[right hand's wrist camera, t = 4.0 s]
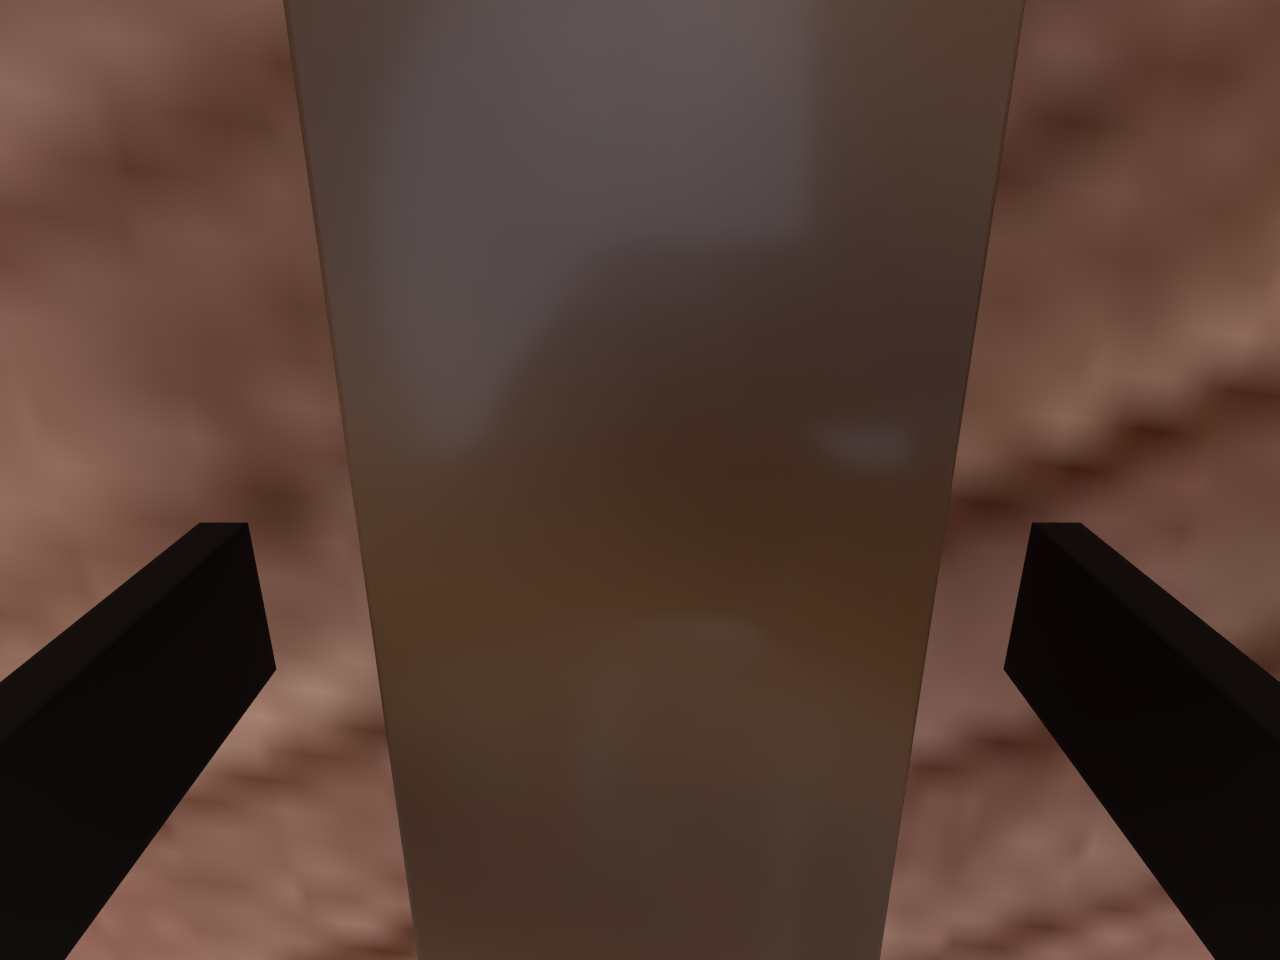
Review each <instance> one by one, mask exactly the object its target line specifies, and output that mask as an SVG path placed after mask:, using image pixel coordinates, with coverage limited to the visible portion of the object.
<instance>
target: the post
mask: <svg viewBox="0 0 1280 960" xmlns="http://www.w3.org/2000/svg"><path fill="white" fill-rule="evenodd" d="M283 2H284V9H285V16H286V23H287V31H288V38H289V45H290V52H291V59H292V66H293V73H294V80H295V87H296V95H297V102H298V109H299V116H300V123H301V130H302V137H303V144H304V151H305V158H306V166H307V173H308V180H309V187H310V194H311V201H312V208H313V215H314V222H315V230H316V237H317V244H318V251H319V258H320V265H321V272H322V279H323V286H324V294H325V301H326V308H327V315H328V322H329V329H330V336H331V343H332V350H333V358H334V365H335V372H336V379H337V386H338V393H339V400H340V407H341V414H342V422H343V429H344V436H345V443H346V450H347V457H348V464H349V471H350V478H351V486H352V493H353V500H354V507H355V514H356V521H357V528H358V535H359V542H360V549H361V557H362V564H363V571H364V578H365V585H366V592H367V599H368V606H369V613H370V621H371V628H372V635H373V642H374V649H375V656H376V663H377V670H378V677H379V685H380V692H381V699H382V706H383V713H384V720H385V727H386V734H387V741H388V749H389V756H390V763H391V770H392V777H393V784H394V791H395V798H396V805H397V813H398V820H399V827H400V834H401V841H402V848H403V855H404V862H405V869H406V877H407V884H408V891H409V898H410V905H411V912H412V919H413V926H414V933H415V940H416V948H417V955H418V960H880V953H881V947H882V940H883V933H884V927H885V920H886V914H887V907H888V901H889V894H890V887H891V881H892V874H893V868H894V861H895V854H896V848H897V841H898V835H899V828H900V822H901V815H902V808H903V802H904V795H905V789H906V782H907V775H908V769H909V762H910V756H911V749H912V743H913V736H914V729H915V723H916V716H917V710H918V703H919V696H920V690H921V683H922V677H923V670H924V664H925V657H926V650H927V644H928V637H929V631H930V624H931V617H932V611H933V604H934V598H935V591H936V585H937V578H938V571H939V565H940V558H941V552H942V545H943V538H944V532H945V525H946V519H947V512H948V506H949V499H950V492H951V486H952V479H953V473H954V466H955V459H956V453H957V446H958V440H959V433H960V427H961V420H962V413H963V407H964V400H965V394H966V387H967V380H968V374H969V367H970V361H971V354H972V347H973V341H974V334H975V328H976V321H977V315H978V308H979V301H980V295H981V288H982V282H983V275H984V268H985V262H986V255H987V249H988V242H989V236H990V229H991V222H992V216H993V209H994V203H995V196H996V189H997V183H998V176H999V170H1000V163H1001V157H1002V150H1003V143H1004V137H1005V130H1006V124H1007V117H1008V110H1009V104H1010V97H1011V91H1012V84H1013V78H1014V71H1015V64H1016V58H1017V51H1018V45H1019V38H1020V31H1021V25H1022V18H1023V12H1024V5H1025V0H283Z"/></svg>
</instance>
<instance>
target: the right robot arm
mask: <svg viewBox="0 0 1280 960" xmlns="http://www.w3.org/2000/svg"><path fill="white" fill-rule="evenodd" d="M275 670H276V665H275V660H274V655H273V649H272V644H271V639H270V634H269V629H268V624H267V619H266V614H265V608H264V603H263V598H262V593H261V588H260V583H259V578H258V572H257V567H256V562H255V557H254V552H253V547H252V542H251V536H250V531H249V526H248V523H199V524H197V525H196V526H195V527H194V528H192V529H191V530H190V531H189V532H187V533H186V534H185V535H184V536H182V537H181V538H180V539H179V540H177V541H176V542H175V543H174V544H172V545H171V546H170V547H169V548H167V549H166V550H165V551H164V552H162V553H161V554H160V555H159V556H157V557H156V558H155V559H154V560H152V561H151V562H150V563H149V564H147V565H146V566H145V567H144V568H142V569H141V570H140V571H139V572H137V573H136V574H135V575H134V576H132V577H131V578H130V579H129V580H127V581H126V582H125V583H124V584H122V585H121V586H120V587H119V588H117V589H116V590H115V591H114V592H112V593H111V594H110V595H109V596H107V597H106V598H105V599H104V600H102V601H101V602H100V603H99V604H97V605H96V606H95V607H94V608H92V609H91V610H90V611H89V612H87V613H86V614H85V615H84V616H82V617H81V618H80V619H79V620H77V621H76V622H75V623H74V624H72V625H71V626H70V627H69V628H67V629H66V630H65V631H64V632H62V633H61V634H60V635H59V636H57V637H56V638H55V639H54V640H52V641H51V642H50V643H49V644H47V645H46V646H45V647H44V648H42V649H41V650H40V651H39V652H37V653H36V654H35V655H34V656H32V657H31V658H30V659H29V660H27V661H26V662H25V663H24V664H22V665H21V666H20V667H19V668H17V669H16V670H15V671H14V672H12V673H11V674H10V675H9V676H7V677H6V678H5V679H4V680H2V681H1V682H0V960H65V959H66V957H67V956H68V954H69V953H70V952H71V950H72V949H73V948H74V946H75V945H76V943H77V942H78V941H79V939H80V938H81V937H82V935H83V934H84V933H85V931H86V930H87V928H88V927H89V926H90V924H91V923H92V922H93V920H94V919H95V917H96V916H97V915H98V913H99V912H100V911H101V909H102V908H103V906H104V905H105V904H106V902H107V901H108V900H109V898H110V897H111V895H112V894H113V893H114V891H115V890H116V889H117V887H118V886H119V884H120V883H121V882H122V880H123V879H124V878H125V876H126V875H127V874H128V872H129V871H130V869H131V868H132V867H133V865H134V864H135V863H136V861H137V860H138V858H139V857H140V856H141V854H142V853H143V852H144V850H145V849H146V847H147V846H148V845H149V843H150V842H151V841H152V839H153V838H154V836H155V835H156V834H157V832H158V831H159V830H160V828H161V827H162V825H163V824H164V823H165V821H166V820H167V819H168V817H169V816H170V815H171V813H172V812H173V810H174V809H175V808H176V806H177V805H178V804H179V802H180V801H181V799H182V798H183V797H184V795H185V794H186V793H187V791H188V790H189V788H190V787H191V786H192V784H193V783H194V782H195V780H196V779H197V777H198V776H199V775H200V773H201V772H202V771H203V769H204V768H205V767H206V765H207V764H208V762H209V761H210V760H211V758H212V757H213V756H214V754H215V753H216V751H217V750H218V749H219V747H220V746H221V745H222V743H223V742H224V740H225V739H226V738H227V736H228V735H229V734H230V732H231V731H232V729H233V728H234V727H235V725H236V724H237V723H238V721H239V720H240V718H241V717H242V716H243V714H244V713H245V712H246V710H247V709H248V708H249V706H250V705H251V703H252V702H253V701H254V699H255V698H256V697H257V695H258V694H259V692H260V691H261V690H262V688H263V687H264V686H265V684H266V683H267V681H268V680H269V679H270V677H271V676H272V675H273V673H274V672H275ZM1004 670H1005V672H1006V673H1007V675H1008V676H1009V677H1010V679H1011V680H1012V681H1013V683H1014V684H1015V686H1016V687H1017V688H1018V690H1019V691H1020V692H1021V694H1022V695H1023V697H1024V698H1025V699H1026V701H1027V702H1028V703H1029V705H1030V706H1031V708H1032V709H1033V710H1034V712H1035V713H1036V714H1037V716H1038V717H1039V719H1040V720H1041V721H1042V723H1043V724H1044V725H1045V727H1046V728H1047V729H1048V731H1049V732H1050V734H1051V735H1052V736H1053V738H1054V739H1055V740H1056V742H1057V743H1058V745H1059V746H1060V747H1061V749H1062V750H1063V751H1064V753H1065V754H1066V756H1067V757H1068V758H1069V760H1070V761H1071V762H1072V764H1073V765H1074V767H1075V768H1076V769H1077V771H1078V772H1079V773H1080V775H1081V776H1082V778H1083V779H1084V780H1085V782H1086V783H1087V784H1088V786H1089V787H1090V788H1091V790H1092V791H1093V793H1094V794H1095V795H1096V797H1097V798H1098V799H1099V801H1100V802H1101V804H1102V805H1103V806H1104V808H1105V809H1106V810H1107V812H1108V813H1109V815H1110V816H1111V817H1112V819H1113V820H1114V821H1115V823H1116V824H1117V826H1118V827H1119V828H1120V830H1121V831H1122V832H1123V834H1124V835H1125V837H1126V838H1127V839H1128V841H1129V842H1130V843H1131V845H1132V846H1133V847H1134V849H1135V850H1136V852H1137V853H1138V854H1139V856H1140V857H1141V858H1142V860H1143V861H1144V863H1145V864H1146V865H1147V867H1148V868H1149V869H1150V871H1151V872H1152V874H1153V875H1154V876H1155V878H1156V879H1157V880H1158V882H1159V883H1160V885H1161V886H1162V887H1163V889H1164V890H1165V891H1166V893H1167V894H1168V896H1169V897H1170V898H1171V900H1172V901H1173V902H1174V904H1175V905H1176V906H1177V908H1178V909H1179V911H1180V912H1181V913H1182V915H1183V916H1184V917H1185V919H1186V920H1187V922H1188V923H1189V924H1190V926H1191V927H1192V928H1193V930H1194V931H1195V933H1196V934H1197V935H1198V937H1199V938H1200V939H1201V941H1202V942H1203V944H1204V945H1205V946H1206V948H1207V949H1208V950H1209V952H1210V953H1211V955H1212V956H1213V957H1214V959H1215V960H1280V682H1279V681H1278V680H1276V679H1275V678H1274V677H1273V676H1271V675H1270V674H1269V673H1268V672H1266V671H1265V670H1264V669H1263V668H1261V667H1260V666H1259V665H1258V664H1256V663H1255V662H1254V661H1253V660H1251V659H1250V658H1249V657H1248V656H1246V655H1245V654H1244V653H1243V652H1241V651H1240V650H1239V649H1238V648H1236V647H1235V646H1234V645H1233V644H1231V643H1230V642H1229V641H1228V640H1226V639H1225V638H1224V637H1223V636H1221V635H1220V634H1219V633H1218V632H1216V631H1215V630H1214V629H1213V628H1211V627H1210V626H1209V625H1208V624H1206V623H1205V622H1204V621H1203V620H1201V619H1200V618H1199V617H1198V616H1196V615H1195V614H1194V613H1193V612H1191V611H1190V610H1189V609H1188V608H1186V607H1185V606H1184V605H1183V604H1181V603H1180V602H1179V601H1178V600H1176V599H1175V598H1174V597H1173V596H1171V595H1170V594H1169V593H1168V592H1166V591H1165V590H1164V589H1163V588H1161V587H1160V586H1159V585H1158V584H1156V583H1155V582H1154V581H1153V580H1151V579H1150V578H1149V577H1148V576H1146V575H1145V574H1144V573H1143V572H1141V571H1140V570H1139V569H1138V568H1136V567H1135V566H1134V565H1133V564H1131V563H1130V562H1129V561H1128V560H1126V559H1125V558H1124V557H1123V556H1121V555H1120V554H1119V553H1118V552H1116V551H1115V550H1114V549H1113V548H1111V547H1110V546H1109V545H1108V544H1106V543H1105V542H1104V541H1103V540H1101V539H1100V538H1099V537H1098V536H1096V535H1095V534H1094V533H1093V532H1091V531H1090V530H1089V529H1088V528H1086V527H1085V526H1084V525H1083V524H1081V523H1032V526H1031V531H1030V536H1029V541H1028V547H1027V552H1026V557H1025V562H1024V567H1023V572H1022V577H1021V583H1020V588H1019V593H1018V598H1017V603H1016V608H1015V613H1014V618H1013V624H1012V629H1011V634H1010V639H1009V644H1008V649H1007V654H1006V660H1005V665H1004Z"/></svg>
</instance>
